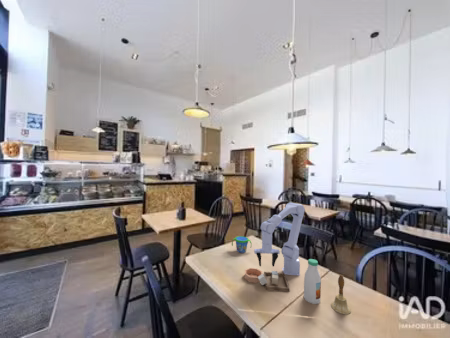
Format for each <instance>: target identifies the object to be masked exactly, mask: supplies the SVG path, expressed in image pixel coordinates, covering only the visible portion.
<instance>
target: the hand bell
mask: <svg viewBox="0 0 450 338" xmlns="http://www.w3.org/2000/svg"><path fill="white" fill-rule="evenodd" d="M337 283H338V284H337V285H338V287H339V289H338V293H337V294H336V295H335V298H334V301H332V302H331V303H330V307H331V308H332V310H334V311H335V312H336V313H339V314H342V315H350V314H351V312H352V311H351V308H350V306H348V302H347V297H346V296H344V286H345V278H344V276H343V274H339V276H338V279H337Z"/></svg>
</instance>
